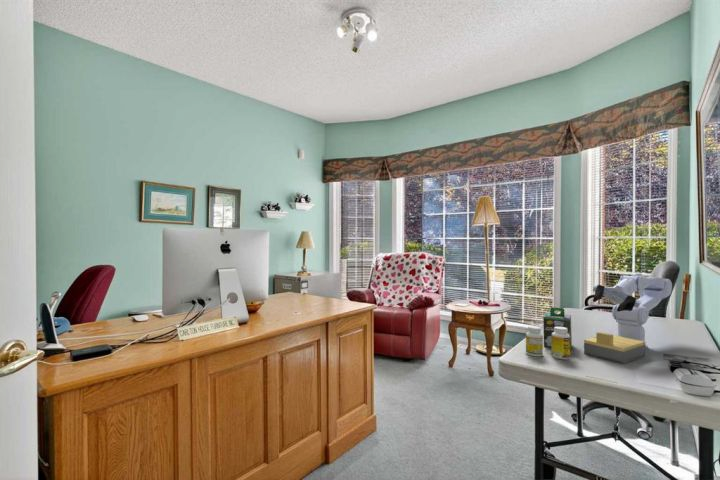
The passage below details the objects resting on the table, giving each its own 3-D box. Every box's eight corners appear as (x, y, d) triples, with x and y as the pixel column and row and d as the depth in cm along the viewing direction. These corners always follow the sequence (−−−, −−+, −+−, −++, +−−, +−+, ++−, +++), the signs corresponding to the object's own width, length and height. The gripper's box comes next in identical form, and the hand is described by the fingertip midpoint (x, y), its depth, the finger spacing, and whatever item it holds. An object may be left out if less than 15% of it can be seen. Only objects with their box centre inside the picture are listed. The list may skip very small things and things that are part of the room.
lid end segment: (594, 339, 127) (594, 328, 127) (632, 348, 117) (632, 335, 117) (584, 342, 124) (584, 330, 124) (623, 351, 113) (623, 338, 113)
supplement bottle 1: (540, 357, 118) (540, 329, 119) (523, 354, 122) (524, 327, 122) (544, 354, 123) (544, 327, 123) (528, 351, 126) (528, 324, 126)
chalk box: (571, 344, 135) (571, 306, 135) (571, 350, 127) (571, 310, 127) (544, 341, 140) (545, 304, 140) (542, 346, 132) (543, 307, 132)
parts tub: (607, 346, 132) (607, 333, 132) (645, 355, 122) (645, 341, 122) (584, 353, 124) (584, 339, 124) (623, 363, 113) (623, 348, 113)
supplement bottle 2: (565, 361, 115) (565, 330, 116) (548, 356, 120) (548, 327, 120) (573, 358, 118) (573, 328, 119) (556, 353, 123) (556, 325, 123)
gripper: (603, 274, 134) (586, 286, 126) (648, 290, 123) (633, 303, 116) (598, 290, 136) (582, 302, 129) (642, 306, 126) (627, 321, 118)
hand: (606, 304), depth 123 cm, fingers open, 7 cm apart
